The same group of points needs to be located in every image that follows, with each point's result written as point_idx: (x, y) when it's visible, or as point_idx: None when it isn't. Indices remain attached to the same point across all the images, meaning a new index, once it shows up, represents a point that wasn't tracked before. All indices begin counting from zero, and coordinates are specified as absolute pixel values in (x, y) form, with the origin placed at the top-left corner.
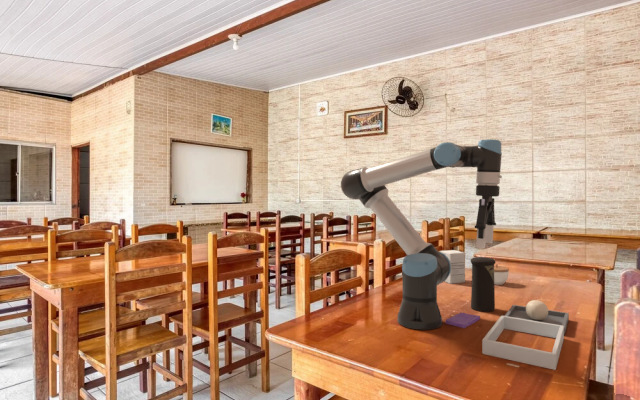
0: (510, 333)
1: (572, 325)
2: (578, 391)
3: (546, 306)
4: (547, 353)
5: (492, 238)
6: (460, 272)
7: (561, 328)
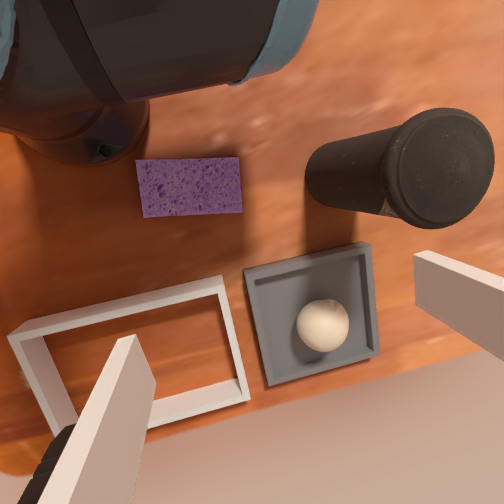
0: (196, 304)
1: None
2: (23, 474)
3: (328, 351)
4: None
5: (446, 324)
6: None
7: (229, 402)
